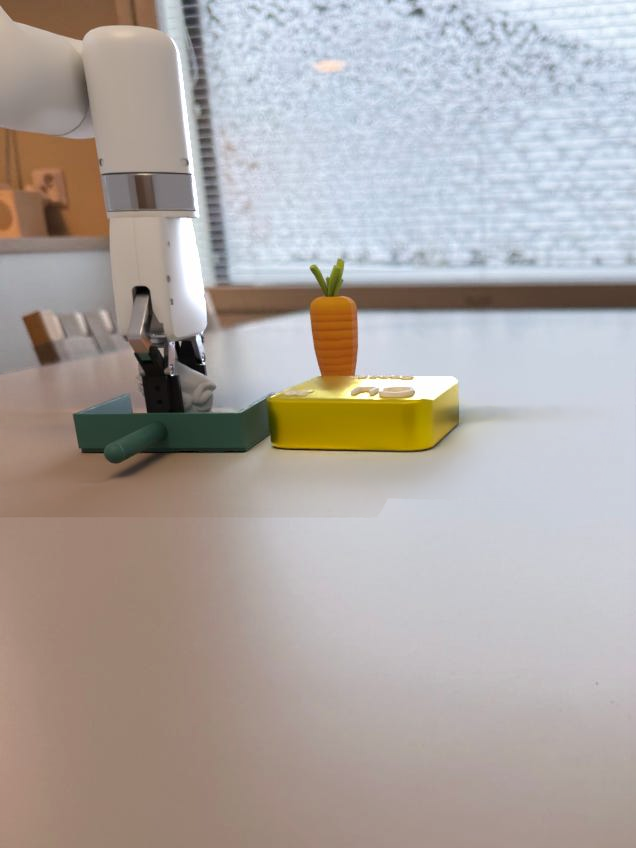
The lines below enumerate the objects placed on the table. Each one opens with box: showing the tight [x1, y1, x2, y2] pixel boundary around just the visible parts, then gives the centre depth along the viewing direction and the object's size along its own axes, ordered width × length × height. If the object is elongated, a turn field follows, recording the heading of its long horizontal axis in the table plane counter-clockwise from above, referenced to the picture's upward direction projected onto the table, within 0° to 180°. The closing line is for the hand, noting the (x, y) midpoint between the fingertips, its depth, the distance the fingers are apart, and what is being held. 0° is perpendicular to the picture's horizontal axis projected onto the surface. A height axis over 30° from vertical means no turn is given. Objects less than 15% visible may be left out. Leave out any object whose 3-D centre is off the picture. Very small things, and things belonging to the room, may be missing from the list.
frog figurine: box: [134, 356, 217, 413], centre depth 87 cm, size 6×7×7 cm
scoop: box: [72, 392, 276, 465], centre depth 83 cm, size 21×15×3 cm
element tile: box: [267, 374, 460, 452], centre depth 88 cm, size 15×15×5 cm
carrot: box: [309, 258, 359, 376], centre depth 102 cm, size 5×5×15 cm
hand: (180, 413), depth 88 cm, fingers closed on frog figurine, 6 cm apart
